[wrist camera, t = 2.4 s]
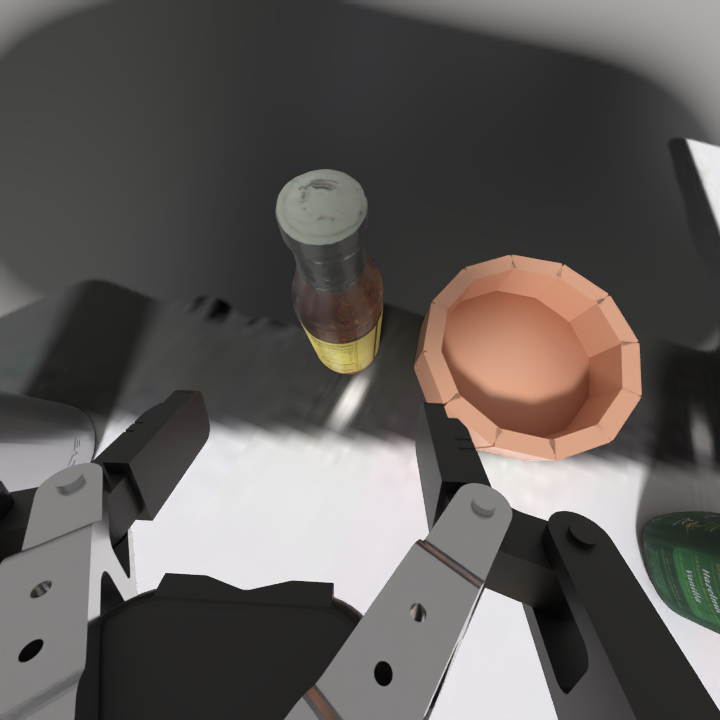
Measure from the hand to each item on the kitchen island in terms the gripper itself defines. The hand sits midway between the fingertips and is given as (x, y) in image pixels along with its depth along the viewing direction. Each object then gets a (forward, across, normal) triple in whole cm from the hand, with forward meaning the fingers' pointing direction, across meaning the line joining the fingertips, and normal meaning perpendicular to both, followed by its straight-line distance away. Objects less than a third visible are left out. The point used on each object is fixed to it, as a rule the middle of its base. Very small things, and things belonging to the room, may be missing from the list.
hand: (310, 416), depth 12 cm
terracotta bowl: (+19, -16, +7) cm, 26 cm away
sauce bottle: (+20, 0, +7) cm, 21 cm away
